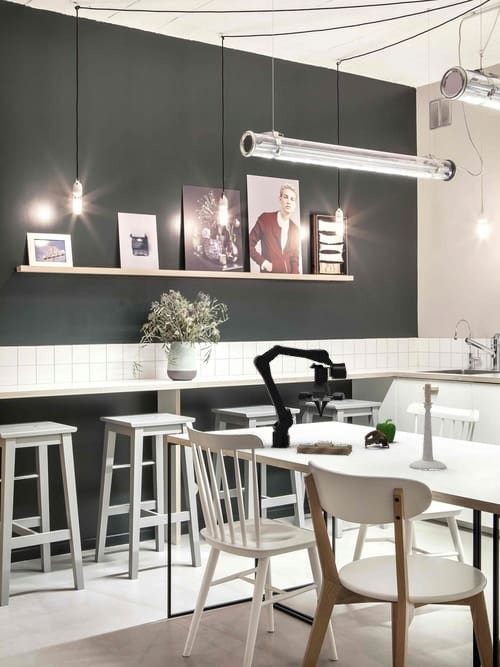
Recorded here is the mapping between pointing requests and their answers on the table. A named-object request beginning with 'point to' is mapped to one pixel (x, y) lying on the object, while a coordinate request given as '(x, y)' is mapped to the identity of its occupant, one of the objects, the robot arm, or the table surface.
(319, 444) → the tile two
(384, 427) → the bell pepper
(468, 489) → the table surface
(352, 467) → the table surface
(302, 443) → the tile one
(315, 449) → the tile board
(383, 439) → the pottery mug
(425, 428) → the candlestick
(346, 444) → the tile three
